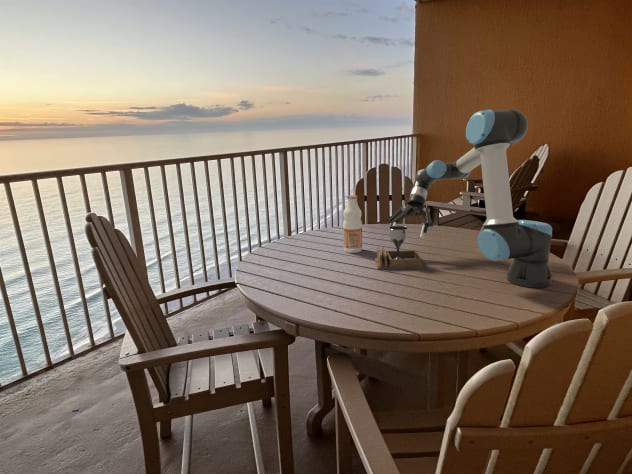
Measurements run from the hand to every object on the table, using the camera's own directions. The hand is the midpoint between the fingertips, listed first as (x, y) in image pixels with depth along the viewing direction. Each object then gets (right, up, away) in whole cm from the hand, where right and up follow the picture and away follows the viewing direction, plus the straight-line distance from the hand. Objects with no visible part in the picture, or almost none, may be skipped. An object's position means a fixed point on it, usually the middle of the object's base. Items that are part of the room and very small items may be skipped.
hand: (405, 237), depth 171 cm
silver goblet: (-3, -10, +1) cm, 11 cm away
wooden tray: (-4, -12, 0) cm, 13 cm away
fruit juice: (-22, -7, +22) cm, 32 cm away
